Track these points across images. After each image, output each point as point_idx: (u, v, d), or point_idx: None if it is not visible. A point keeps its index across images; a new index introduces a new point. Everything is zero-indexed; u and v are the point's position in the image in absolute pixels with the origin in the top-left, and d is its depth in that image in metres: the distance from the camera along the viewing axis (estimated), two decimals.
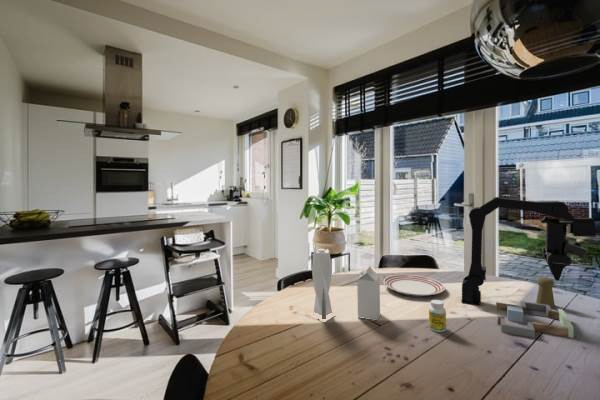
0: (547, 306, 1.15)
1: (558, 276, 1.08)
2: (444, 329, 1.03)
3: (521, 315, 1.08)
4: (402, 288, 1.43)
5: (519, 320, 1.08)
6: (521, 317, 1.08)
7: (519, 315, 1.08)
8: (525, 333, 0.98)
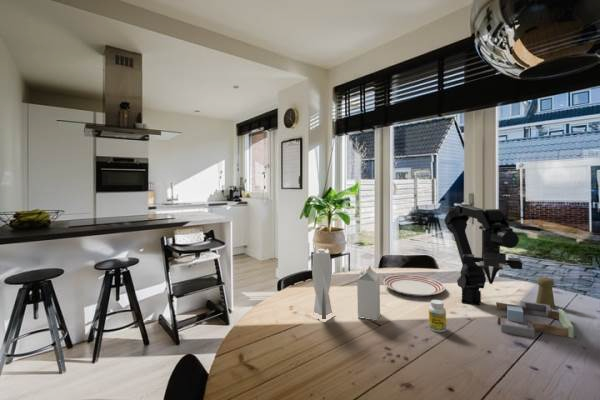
0: (547, 306, 1.15)
1: None
2: (444, 329, 1.03)
3: (521, 315, 1.08)
4: (402, 288, 1.43)
5: (519, 320, 1.08)
6: (521, 317, 1.08)
7: (519, 315, 1.08)
8: (525, 333, 0.98)
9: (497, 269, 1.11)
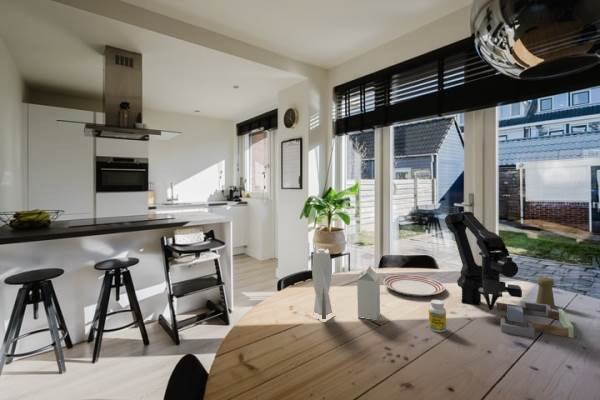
0: (547, 306, 1.15)
1: None
2: (444, 329, 1.03)
3: (521, 315, 1.08)
4: (402, 288, 1.43)
5: (519, 320, 1.08)
6: (521, 317, 1.08)
7: (519, 315, 1.08)
8: (525, 333, 0.98)
9: (497, 296, 1.11)
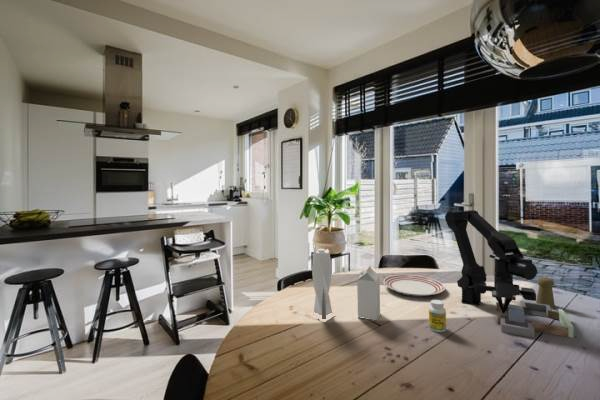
0: (547, 306, 1.15)
1: None
2: (444, 329, 1.03)
3: (522, 315, 1.08)
4: (402, 288, 1.43)
5: (520, 320, 1.08)
6: (522, 317, 1.08)
7: (520, 315, 1.08)
8: (525, 333, 0.98)
9: (510, 299, 1.09)
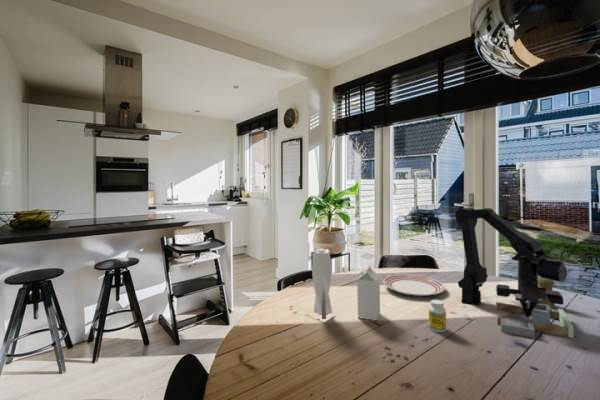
0: (547, 306, 1.15)
1: None
2: (444, 329, 1.03)
3: (548, 319, 1.04)
4: (402, 288, 1.43)
5: None
6: (548, 321, 1.04)
7: (546, 319, 1.04)
8: (525, 333, 0.98)
9: (535, 303, 1.05)
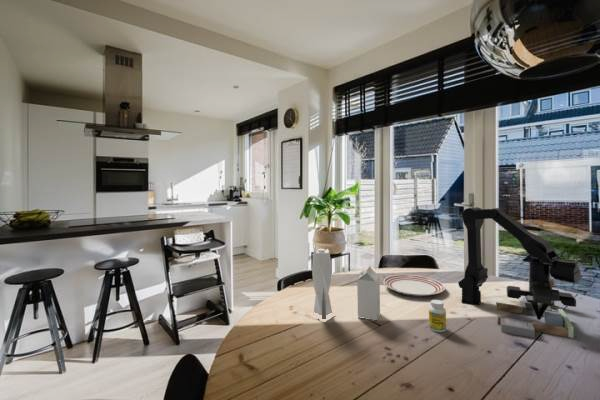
0: None
1: None
2: (444, 329, 1.03)
3: (561, 321, 1.02)
4: (402, 288, 1.43)
5: None
6: (561, 323, 1.02)
7: (559, 321, 1.03)
8: (525, 333, 0.98)
9: (547, 305, 1.04)
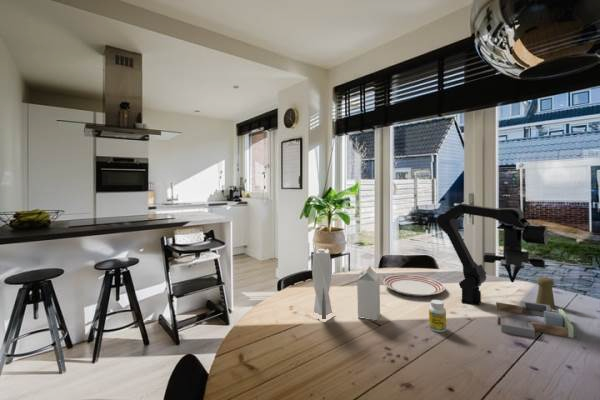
0: (547, 306, 1.15)
1: (509, 277, 1.16)
2: (444, 329, 1.03)
3: (561, 321, 1.02)
4: (402, 288, 1.43)
5: None
6: (561, 323, 1.02)
7: (559, 321, 1.03)
8: (525, 333, 0.98)
9: (519, 267, 1.12)
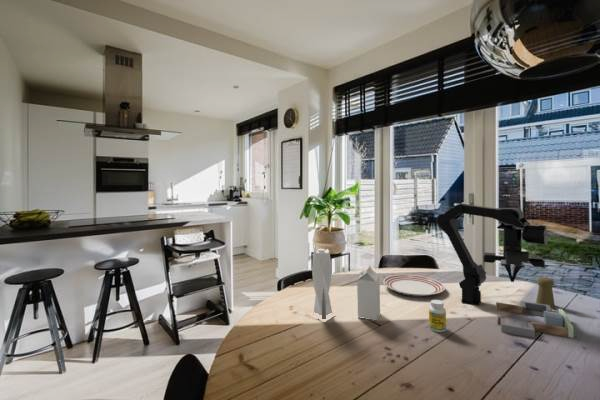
0: (547, 306, 1.15)
1: (509, 277, 1.16)
2: (444, 329, 1.03)
3: (561, 321, 1.02)
4: (402, 288, 1.43)
5: None
6: (561, 323, 1.02)
7: (559, 321, 1.03)
8: (525, 333, 0.98)
9: (519, 267, 1.12)
